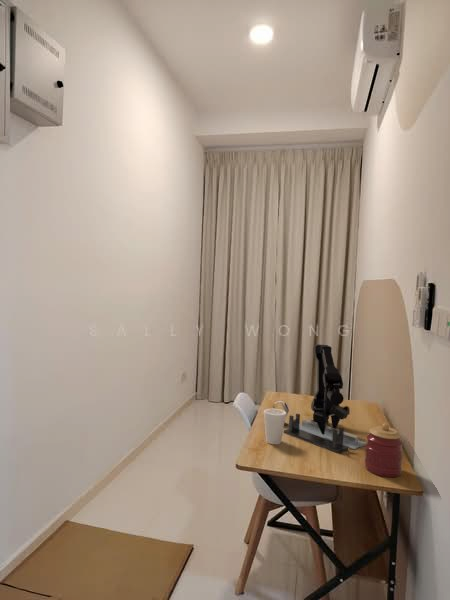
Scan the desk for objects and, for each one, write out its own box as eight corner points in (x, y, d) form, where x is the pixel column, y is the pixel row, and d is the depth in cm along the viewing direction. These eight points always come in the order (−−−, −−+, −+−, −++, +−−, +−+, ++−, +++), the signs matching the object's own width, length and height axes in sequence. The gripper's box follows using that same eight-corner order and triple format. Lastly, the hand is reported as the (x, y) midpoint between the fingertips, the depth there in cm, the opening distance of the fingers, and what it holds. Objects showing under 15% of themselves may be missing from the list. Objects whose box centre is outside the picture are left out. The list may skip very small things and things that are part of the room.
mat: (307, 423, 201) (307, 422, 201) (366, 444, 177) (367, 443, 177) (293, 428, 194) (293, 427, 194) (353, 449, 170) (353, 448, 170)
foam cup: (287, 440, 176) (289, 411, 176) (279, 447, 168) (281, 416, 168) (267, 436, 181) (269, 407, 181) (258, 442, 173) (260, 412, 173)
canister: (371, 459, 161) (374, 415, 160) (405, 470, 152) (408, 424, 152) (359, 469, 151) (362, 423, 150) (395, 481, 142) (398, 432, 142)
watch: (287, 426, 195) (288, 404, 195) (271, 424, 198) (272, 402, 197) (288, 423, 201) (290, 401, 201) (272, 420, 203) (273, 399, 203)
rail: (305, 425, 197) (306, 419, 197) (358, 443, 176) (358, 436, 176) (301, 426, 195) (302, 420, 195) (354, 445, 174) (354, 437, 174)
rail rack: (293, 429, 191) (294, 412, 191) (348, 449, 170) (349, 429, 169) (283, 432, 186) (284, 414, 186) (338, 453, 165) (340, 433, 165)
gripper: (334, 406, 173) (332, 442, 173) (357, 400, 185) (355, 433, 186) (313, 400, 181) (311, 434, 181) (336, 394, 194) (334, 426, 194)
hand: (328, 432), depth 185 cm, fingers open, 9 cm apart
